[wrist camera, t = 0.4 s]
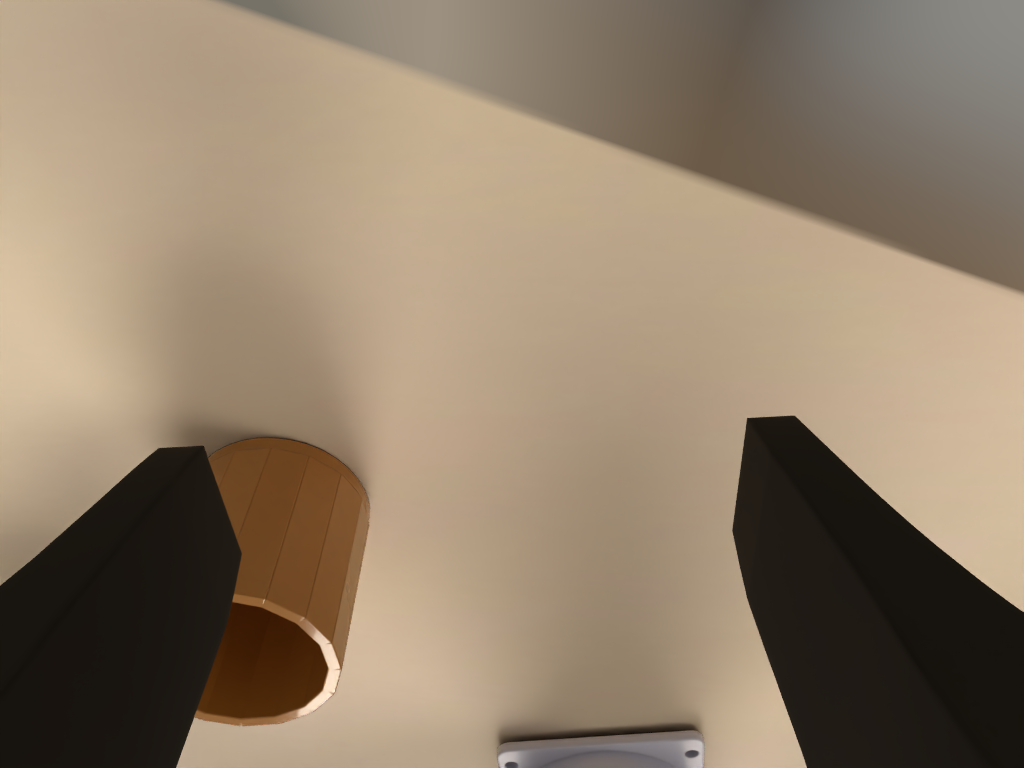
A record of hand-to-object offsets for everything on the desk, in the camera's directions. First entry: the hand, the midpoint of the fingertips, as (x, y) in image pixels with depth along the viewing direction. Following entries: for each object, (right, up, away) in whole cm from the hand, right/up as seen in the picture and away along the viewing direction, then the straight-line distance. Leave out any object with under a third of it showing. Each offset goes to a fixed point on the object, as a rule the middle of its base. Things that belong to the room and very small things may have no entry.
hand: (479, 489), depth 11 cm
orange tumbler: (-6, -2, +14) cm, 15 cm away
